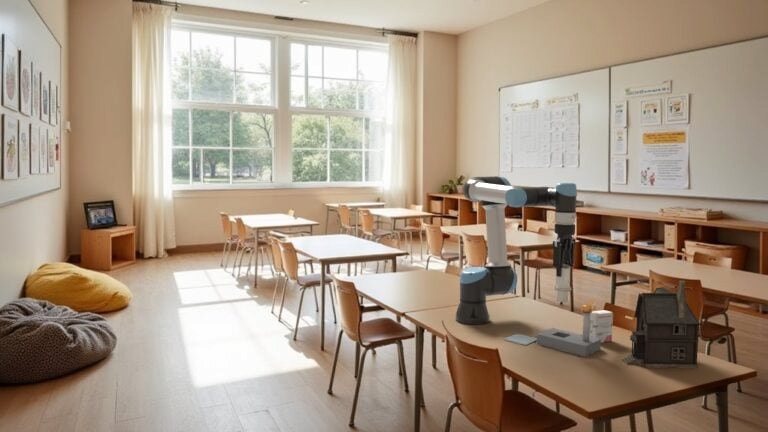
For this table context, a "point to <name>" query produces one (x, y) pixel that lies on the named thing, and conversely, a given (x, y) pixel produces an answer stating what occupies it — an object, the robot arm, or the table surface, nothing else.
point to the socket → (571, 339)
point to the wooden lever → (589, 306)
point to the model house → (664, 331)
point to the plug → (563, 286)
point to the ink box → (601, 325)
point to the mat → (520, 339)
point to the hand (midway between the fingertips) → (562, 283)
